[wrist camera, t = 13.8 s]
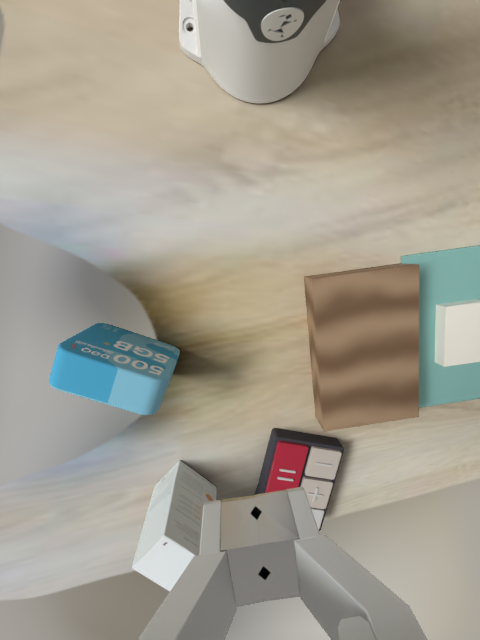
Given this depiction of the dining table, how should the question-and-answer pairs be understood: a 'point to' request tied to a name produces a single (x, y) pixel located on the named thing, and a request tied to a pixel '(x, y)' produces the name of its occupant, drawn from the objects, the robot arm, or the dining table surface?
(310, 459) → the calculator
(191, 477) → the small box
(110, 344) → the data package
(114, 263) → the dining table surface
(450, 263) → the mat
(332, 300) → the board
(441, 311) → the white rectangular eraser
